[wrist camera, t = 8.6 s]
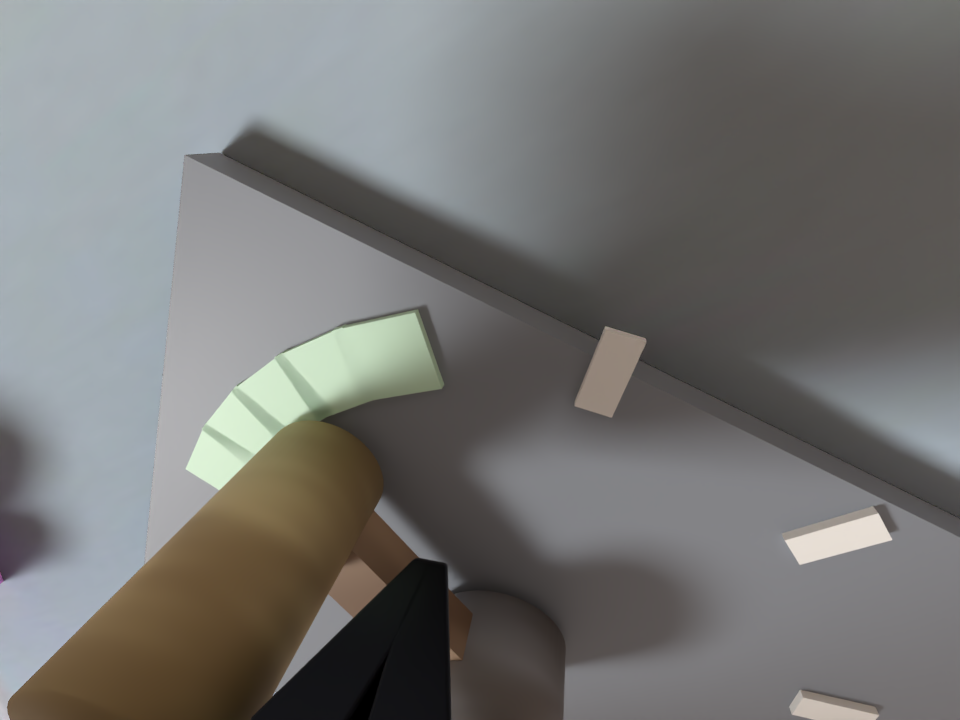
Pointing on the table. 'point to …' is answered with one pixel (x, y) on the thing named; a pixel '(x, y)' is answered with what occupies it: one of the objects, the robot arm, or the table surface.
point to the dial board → (551, 474)
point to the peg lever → (280, 603)
